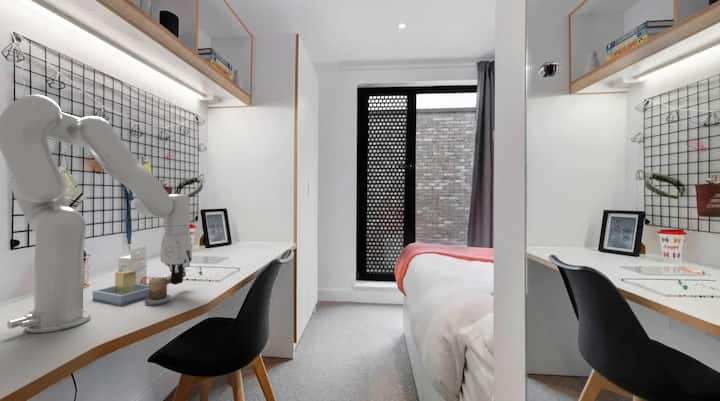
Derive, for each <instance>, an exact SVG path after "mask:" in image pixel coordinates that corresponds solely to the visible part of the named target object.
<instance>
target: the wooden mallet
mask: <svg viewBox="0 0 720 401" xmlns="http://www.w3.org/2000/svg"><path fill="white" fill-rule="evenodd" d="M185 269H186V268H185ZM185 269H184V271H183V278H185V277H187V276H186V270H185ZM169 284H171V275H170V274H169V275H168V276H166V277H164V276H163V277H160V276H159V277H154V278H150V279H149V280H148V285H149V299H160V298H164V297H166V296H167V294H168V285H169Z"/></svg>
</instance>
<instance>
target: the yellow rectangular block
mask: <svg viewBox="0 0 720 401" xmlns="http://www.w3.org/2000/svg"><path fill="white" fill-rule="evenodd" d="M114 276H115V278H114V286H115V294H118V295H125V294H128V293H132V292H135V287H136V271H131V270H125V271H120V272H118V271H116V272H115V273H114Z"/></svg>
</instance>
